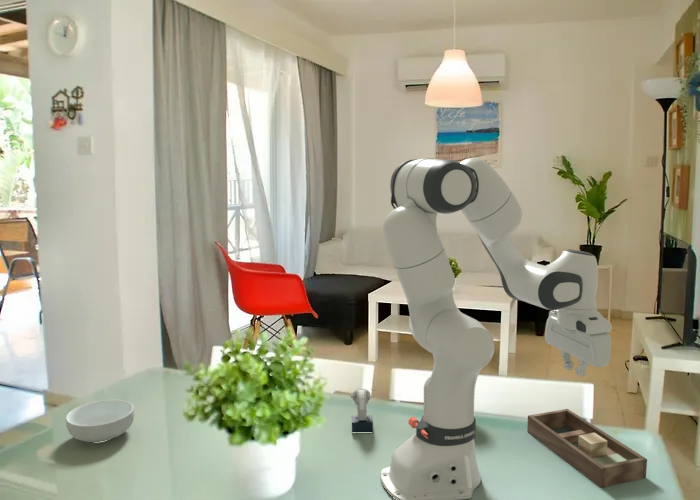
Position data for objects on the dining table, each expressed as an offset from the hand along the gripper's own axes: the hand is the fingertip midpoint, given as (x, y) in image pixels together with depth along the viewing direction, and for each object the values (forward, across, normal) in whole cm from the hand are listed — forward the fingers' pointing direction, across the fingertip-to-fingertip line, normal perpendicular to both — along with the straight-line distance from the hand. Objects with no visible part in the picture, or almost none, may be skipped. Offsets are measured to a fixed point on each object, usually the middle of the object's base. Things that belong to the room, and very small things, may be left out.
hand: (574, 372), depth 148 cm
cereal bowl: (+19, -46, -112) cm, 123 cm away
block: (+17, +8, 0) cm, 19 cm away
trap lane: (+19, +4, 0) cm, 20 cm away
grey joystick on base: (+19, -26, -46) cm, 56 cm away
